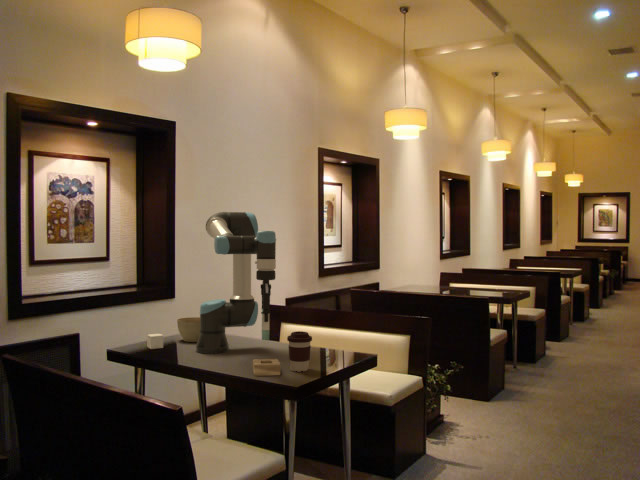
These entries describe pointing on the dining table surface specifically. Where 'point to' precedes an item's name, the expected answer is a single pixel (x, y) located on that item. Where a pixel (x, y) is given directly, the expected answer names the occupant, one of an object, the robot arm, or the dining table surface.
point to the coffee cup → (299, 351)
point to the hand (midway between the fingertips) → (265, 329)
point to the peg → (265, 333)
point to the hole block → (266, 367)
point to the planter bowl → (189, 328)
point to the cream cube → (154, 341)
